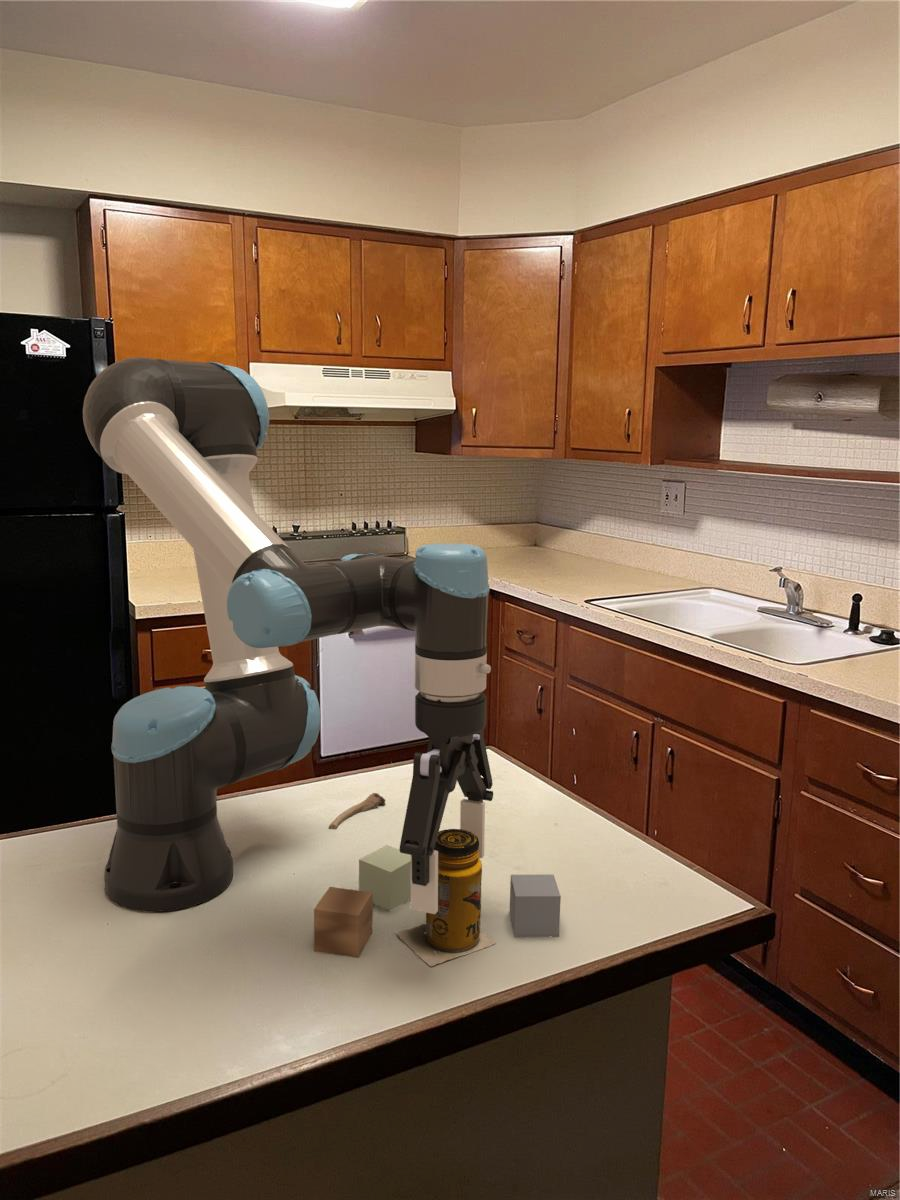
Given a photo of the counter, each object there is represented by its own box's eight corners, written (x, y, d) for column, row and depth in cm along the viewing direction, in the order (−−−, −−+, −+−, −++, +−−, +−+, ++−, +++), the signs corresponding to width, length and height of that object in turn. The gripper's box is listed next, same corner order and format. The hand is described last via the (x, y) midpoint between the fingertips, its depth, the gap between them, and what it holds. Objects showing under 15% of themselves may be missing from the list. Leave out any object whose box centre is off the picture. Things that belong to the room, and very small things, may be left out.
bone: (320, 827, 128) (320, 813, 128) (373, 802, 137) (373, 789, 136) (333, 833, 126) (333, 819, 126) (386, 807, 135) (386, 794, 135)
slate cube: (514, 937, 101) (515, 896, 100) (509, 914, 106) (510, 874, 105) (558, 937, 101) (560, 896, 100) (551, 914, 106) (553, 874, 105)
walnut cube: (314, 951, 97) (313, 909, 96) (329, 927, 102) (329, 886, 101) (358, 958, 96) (358, 915, 95) (372, 933, 101) (372, 892, 100)
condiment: (495, 944, 99) (499, 842, 97) (430, 968, 95) (432, 861, 92) (458, 914, 105) (461, 818, 103) (395, 935, 101) (396, 834, 98)
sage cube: (358, 897, 109) (359, 859, 108) (386, 882, 112) (386, 844, 112) (390, 911, 106) (390, 872, 105) (417, 895, 110) (418, 856, 109)
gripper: (436, 730, 82) (436, 945, 85) (521, 668, 105) (518, 840, 108) (363, 720, 85) (365, 929, 88) (461, 662, 107) (460, 830, 111)
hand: (449, 881), depth 98 cm, fingers open, 13 cm apart
